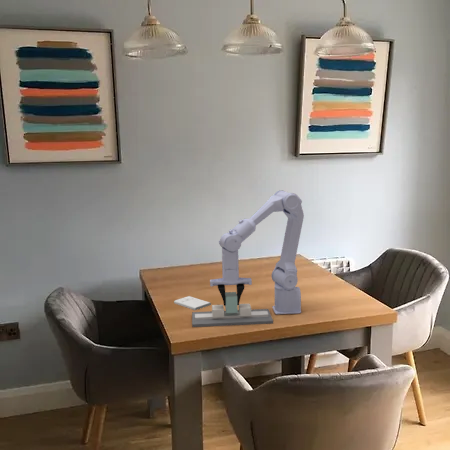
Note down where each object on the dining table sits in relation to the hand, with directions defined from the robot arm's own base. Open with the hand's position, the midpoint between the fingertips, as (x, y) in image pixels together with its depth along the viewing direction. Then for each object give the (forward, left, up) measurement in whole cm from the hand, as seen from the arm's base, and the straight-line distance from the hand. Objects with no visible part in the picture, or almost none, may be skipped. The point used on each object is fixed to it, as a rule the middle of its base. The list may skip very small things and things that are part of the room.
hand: (231, 304), depth 190 cm
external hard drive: (+14, -18, -6) cm, 23 cm away
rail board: (0, 0, -5) cm, 5 cm away
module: (0, 0, -2) cm, 2 cm away
